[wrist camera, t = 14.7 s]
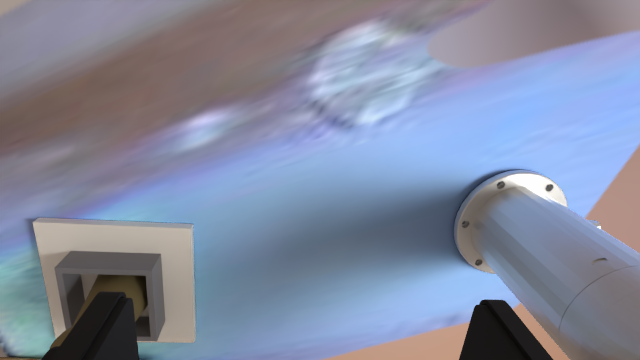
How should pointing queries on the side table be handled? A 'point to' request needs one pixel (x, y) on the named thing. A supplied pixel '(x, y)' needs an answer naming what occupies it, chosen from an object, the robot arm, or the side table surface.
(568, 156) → the side table surface
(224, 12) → the side table surface
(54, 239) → the beige square socket base
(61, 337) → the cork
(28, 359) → the paintbrush
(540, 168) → the side table surface
